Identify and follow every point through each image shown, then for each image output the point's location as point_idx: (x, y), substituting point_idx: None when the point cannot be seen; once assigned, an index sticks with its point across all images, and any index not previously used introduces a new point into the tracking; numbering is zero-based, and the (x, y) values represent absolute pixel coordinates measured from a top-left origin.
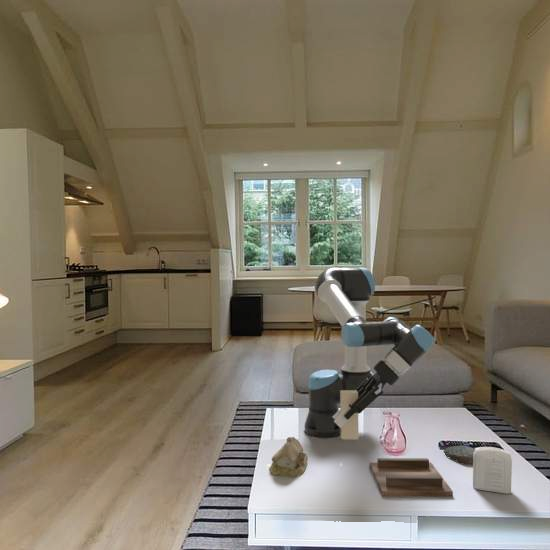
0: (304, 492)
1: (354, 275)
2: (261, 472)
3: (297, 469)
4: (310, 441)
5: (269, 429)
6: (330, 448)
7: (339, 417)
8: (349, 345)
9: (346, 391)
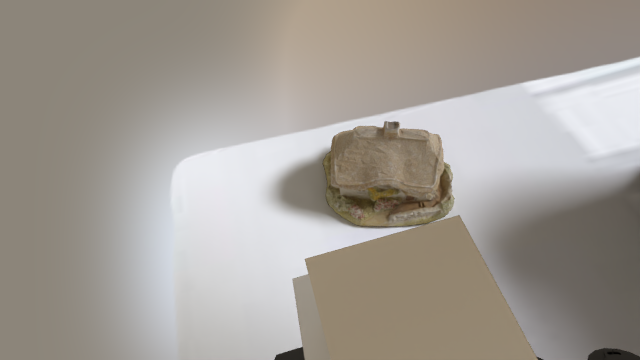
0: (251, 256)
1: None
2: (330, 130)
3: (348, 206)
4: (599, 196)
5: (597, 72)
6: (590, 275)
7: (298, 310)
8: None
9: (444, 330)
